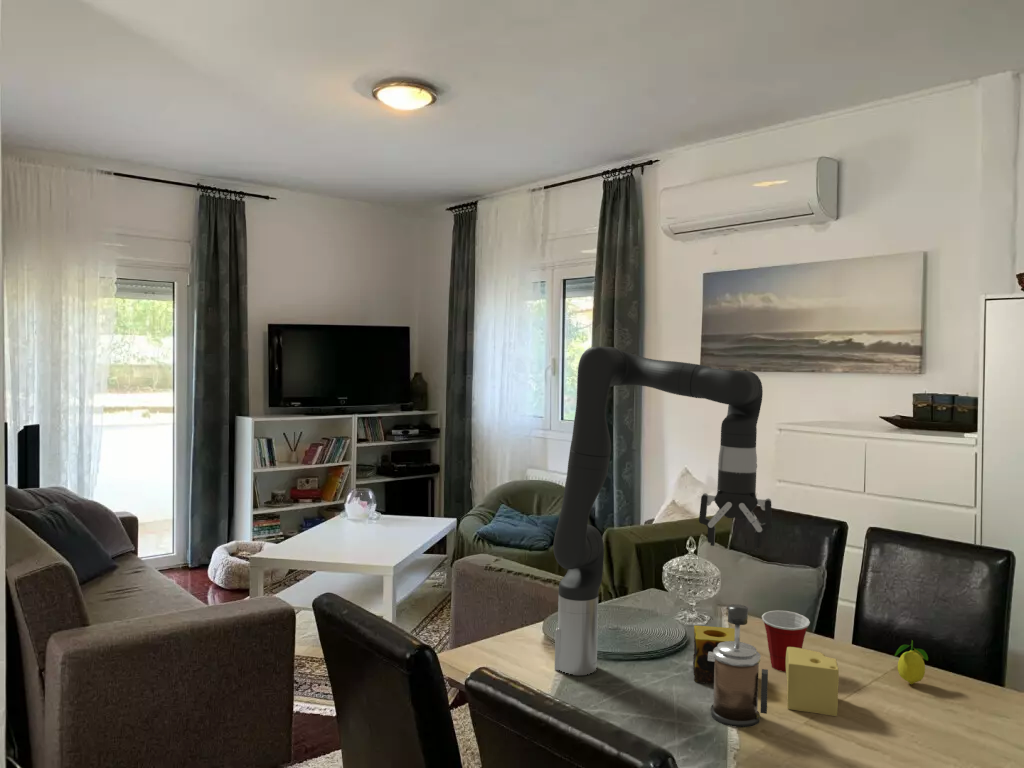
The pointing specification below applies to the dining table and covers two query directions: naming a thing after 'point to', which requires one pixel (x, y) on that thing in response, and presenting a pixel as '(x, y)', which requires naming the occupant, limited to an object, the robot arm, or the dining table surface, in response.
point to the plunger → (737, 634)
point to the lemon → (911, 664)
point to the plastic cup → (783, 634)
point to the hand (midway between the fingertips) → (734, 547)
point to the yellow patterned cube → (708, 650)
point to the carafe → (737, 689)
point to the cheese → (811, 681)
